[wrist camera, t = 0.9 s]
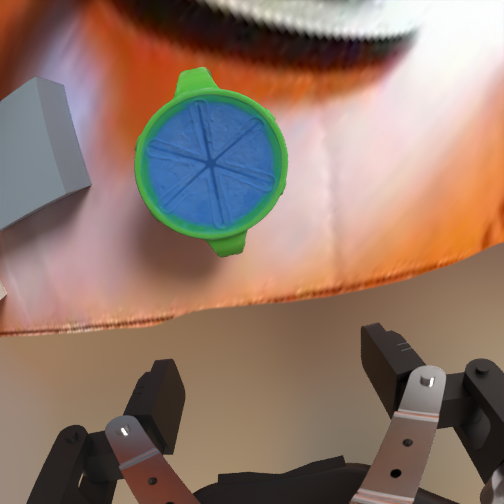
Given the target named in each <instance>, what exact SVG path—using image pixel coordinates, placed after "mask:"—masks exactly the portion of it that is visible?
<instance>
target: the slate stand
mask: <svg viewBox="0 0 504 504" xmlns="http://www.w3.org/2000/svg"><path fill="white" fill-rule="evenodd" d="M90 185H91V182H90V179H89V176H88V173H87V170H86V166H85V163H84V160H83V157H82V154H81V150H80V147H79V143H78V140H77V136H76V133H75V129H74V126H73V122H72V118H71V114H70V110H69V106H68V102H67V98H66V93H65V89H64V85H62V84H59V83H56V82H53V81H50V80H46V79H43V78H40V77H37V76H35V77H34V78H32V79H31V80H29V81H28V82H26V83H25V84H23V85H22V86H20V87H19V88H18V89H16V90H15V91H13V92H12V93H11V94H9V95H8V96H7V97H5V98H4V99H3V100H1V101H0V232H1V231H3V230H5V229H7V228H8V227H10V226H12V225H14V224H15V223H17V222H19V221H21V220H22V219H24V218H26V217H28V216H30V215H32V214H33V213H35V212H37V211H39V210H41V209H43V208H45V207H47V206H49V205H51V204H53V203H55V202H57V201H59V200H61V199H63V198H65V197H67V196H69V195H71V194H73V193H75V192H77V191H79V190H81V189H84V188H86V187H88V186H90Z"/></svg>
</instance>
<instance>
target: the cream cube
mask: <svg viewBox="0 0 504 504" xmlns="http://www.w3.org/2000/svg"><path fill="white" fill-rule="evenodd" d="M5 295H7V292H6V290H5V288H4V286H3V284H2V282H1V280H0V300H1V299H2V298H3V297H4V296H5Z"/></svg>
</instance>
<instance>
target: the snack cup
mask: <svg viewBox="0 0 504 504" xmlns="http://www.w3.org/2000/svg"><path fill="white" fill-rule="evenodd" d="M135 151H136V154H135V164H134V169H135V178H136V183H137V186H138V190H139V192H140V194H141V196H142V199H143V201H144V202H145V204H146V205H147V207H148V208H149V210H150V212H151V214H152V215H153V216H154V217H155V218H156V219H157V220H158V221H161V222H162V223H163V224H164V225H166V226H167V227H169V228H170V229H172V230H174V231H176V232H178V233H181V234H183V235H186V236H190V237H194V238H199V239H205V240H206V242H208V244H209V245H210V246H211V248H212V249H213V250H214V252H215V253H217V255H218V256H220V257H227V256H229V255H234V254H240V253H242V252H243V249H244V246H245V238H246V233H247V230H248V229H249V228H251V227H253V226H254V225H256V224H257V223H258V222H260V221H261V220H262V219H263V218H264V217H265V216H266V215H267V214H268V213H269V212H270V211H271V210H272V208H273V207H274V206H275V204H276V202H277V201H278V199H279V197H280V195H282V194H283V191H284V189H285V186H286V177H287V169H288V153H287V148H286V144H285V140H284V138H283V135H282V133H281V131H280V129H279V127H278V125H277V123H276V122H275V118H274V116H273V115H272V114H271V113H270V111H269V110H268V109H266V108H263V107H262V106H261V105H260V104H258V103H257V102H255V101H254V100H252V99H250V98H249V97H247V96H244V95H242V94H239V93H236V92H233V91H229V90H223V89H220V88H219V87H218V86H217V85H216V84H215V82H214V81H213V79H212V75H211V73H210V71H209V70H207V69H206V68H205V67H199V68H196V69H191V70H186V71H183V72H181V74H180V76H179V78H178V82H177V86H176V91H175V95H174V98H173V99H172V100H171V101H170V102H168V103H167V104H165V105H164V106H163V107H162V108H160V109H159V110H158V111H157V112H156V113H155V114H154V115H153V116H152V118H151V119H150V120H149V121H148V123H147V125H146V126H145V128H144V130H143V132H142V134H141V135H140V136H139V137H138V140H137V143H136V147H135Z"/></svg>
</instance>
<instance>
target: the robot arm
mask: <svg viewBox="0 0 504 504" xmlns="http://www.w3.org/2000/svg"><path fill="white" fill-rule="evenodd" d="M361 360H362V365H363V368H364V370H365V372H366V374H367V375H368V378H369V379H370V381H371V383H372V385H373V387H374V389H375V390H376V392H377V394H378V396H379V398H380V400H381V402H382V403H383V405H384V407H385V409H386V411H387V413H388V415H389V417H390V419H391V422H390V425H389V427H388V430H387V432H386V434H385V437H384V439H383V441H382V443H381V446H380V448H379V450H378V452H377V455H376V457H375V459H374V461H373V463H372V465H366V464H360V463H345V460H344V457H343V456H338V457H334V458H330V459H326V460H320V461H316V462H312V463H310V464H307V465H304V466H302V467H299V468H297V469H294V470H291V471H289V472H286V473H283V474H269V473H255V472H241V473H230V474H218V482H217V483H214V484H211V485H208V486H206V487H203V488H201V489H199V490H198V491H196V492H194V493H193V494H192V493H191V492H190V490H189V489H188V488H187V487H186V486H185V484H184V483H183V482H182V481H181V479H180V478H179V477H178V475H177V474H176V473H175V472H174V470H173V469H172V468H171V466H170V465H169V464H168V463H167V461H166V460H165V458H164V457H163V454H166V455H172V454H173V452H174V448H175V443H176V439H177V433H178V429H179V424H180V420H181V416H182V411H183V407H184V402H185V389H184V385H183V383H182V380H181V377H180V375H179V372H178V369H177V367H176V364H175V362H174V360H173V359H164V360H156V361H155V362H154V364H153V367H152V369H151V371H150V372H146V373H145V374H144V375H143V376H142V377H141V378H140V379H139V380H138V382H137V384H136V386H135V389H134V391H133V393H132V396H131V398H130V400H129V402H128V404H127V407H126V409H125V411H124V414H123V416H120V417H117V418H115V419H113V420H111V421H110V422H109V423H108V424H107V426H106V428H105V431H100V432H95V433H90V434H88V433H87V431H86V429H85V428H84V427H82V426H80V425H72V426H69V427H66V428H65V429H63V430H62V431H61V432H60V433H59V435H58V436H57V439H56V441H55V443H54V444H53V446H52V449H51V451H50V453H49V455H48V457H47V459H46V461H45V463H44V465H43V467H42V470H41V472H40V474H39V476H38V478H37V480H36V483H35V485H34V487H33V489H32V492H31V494H30V496H29V499H28V501H27V504H112V500H113V496H114V492H115V488H116V484H117V480H119V479H125V480H126V482H127V484H128V486H129V487H130V489H131V491H132V493H133V495H134V496H135V498H136V500H137V501H138V503H139V504H459V503H457V502H454V501H451V500H449V499H446V498H443V497H441V496H438V495H436V494H434V493H431V492H429V491H426V490H424V489H422V488H420V487H419V485H420V482H421V479H422V476H423V473H424V470H425V467H426V464H427V461H428V458H429V454H430V451H431V447H432V444H433V440H434V437H435V433H436V429H441V428H448V427H453V428H454V430H455V432H456V433H457V435H458V437H459V438H460V440H461V442H462V444H463V446H464V447H465V449H466V451H467V453H468V454H469V456H470V458H471V460H472V462H473V464H474V465H475V467H476V469H477V471H478V473H479V475H480V477H481V478H482V480H483V482H484V484H485V486H484V487H483V489H482V491H481V494H480V502H481V504H504V373H503V371H502V370H501V369H500V368H499V367H498V366H497V365H496V364H495V363H494V362H492V361H490V360H488V359H475V360H472V361H471V362H469V363H468V364H467V366H466V368H465V372H463V373H455V374H445V373H444V371H443V370H442V369H440V368H438V367H435V366H427V365H426V364H425V363H424V362H423V361H422V359H421V358H420V357H419V356H418V354H417V353H416V352H415V351H414V350H413V349H412V348H411V346H410V345H409V344H408V343H407V342H406V340H405V339H404V338H403V337H402V336H401V335H400V334H398V333H396V332H394V331H388V332H386V331H385V330H384V328H383V327H382V326H381V324H380V323H374V324H370V325H366V326H362V327H361ZM82 474H83V477H82V480H81V483H80V486H79V487H78V484H79V480H80V477H81V475H82Z"/></svg>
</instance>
